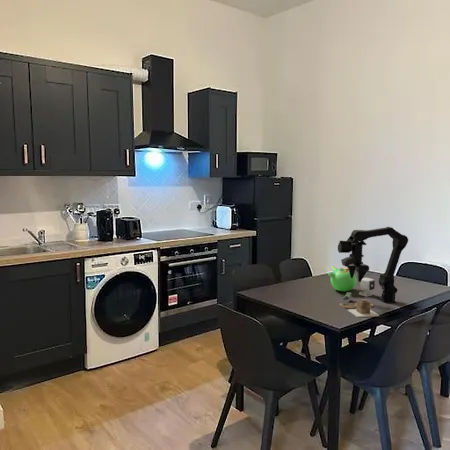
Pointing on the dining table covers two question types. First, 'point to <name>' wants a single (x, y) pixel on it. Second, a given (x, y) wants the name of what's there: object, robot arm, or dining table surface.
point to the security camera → (367, 286)
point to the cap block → (363, 306)
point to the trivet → (362, 314)
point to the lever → (347, 298)
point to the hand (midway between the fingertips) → (355, 279)
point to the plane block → (351, 305)
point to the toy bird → (342, 279)
